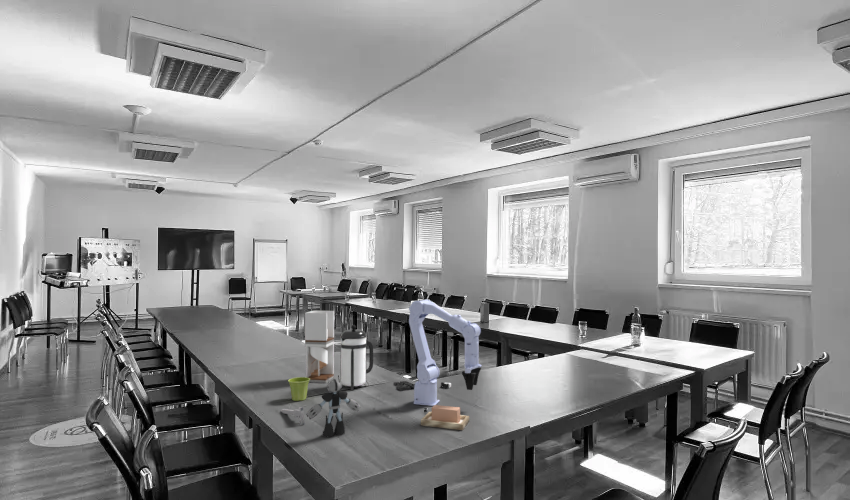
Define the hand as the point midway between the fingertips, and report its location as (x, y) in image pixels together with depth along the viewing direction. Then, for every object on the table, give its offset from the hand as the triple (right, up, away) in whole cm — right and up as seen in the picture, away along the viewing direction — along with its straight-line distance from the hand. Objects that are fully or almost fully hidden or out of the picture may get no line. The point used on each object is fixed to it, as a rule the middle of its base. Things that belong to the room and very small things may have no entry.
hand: (471, 387), depth 189 cm
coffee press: (-54, -11, +38) cm, 66 cm away
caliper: (-71, -10, -9) cm, 72 cm away
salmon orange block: (-11, -8, -15) cm, 21 cm away
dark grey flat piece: (-21, -11, +38) cm, 44 cm away
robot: (-51, -9, -26) cm, 58 cm away
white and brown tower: (-74, -11, +50) cm, 90 cm away
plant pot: (-75, -10, +16) cm, 77 cm away
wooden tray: (-12, -9, -15) cm, 21 cm away
